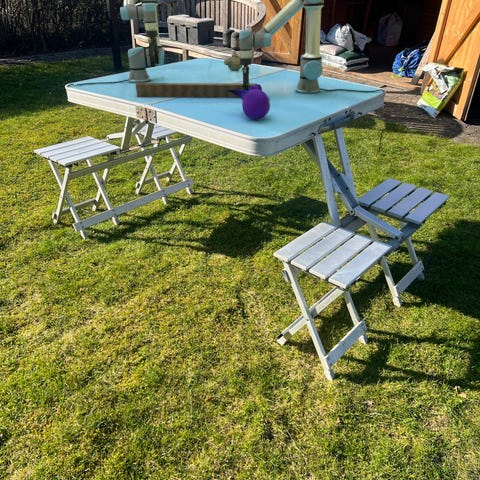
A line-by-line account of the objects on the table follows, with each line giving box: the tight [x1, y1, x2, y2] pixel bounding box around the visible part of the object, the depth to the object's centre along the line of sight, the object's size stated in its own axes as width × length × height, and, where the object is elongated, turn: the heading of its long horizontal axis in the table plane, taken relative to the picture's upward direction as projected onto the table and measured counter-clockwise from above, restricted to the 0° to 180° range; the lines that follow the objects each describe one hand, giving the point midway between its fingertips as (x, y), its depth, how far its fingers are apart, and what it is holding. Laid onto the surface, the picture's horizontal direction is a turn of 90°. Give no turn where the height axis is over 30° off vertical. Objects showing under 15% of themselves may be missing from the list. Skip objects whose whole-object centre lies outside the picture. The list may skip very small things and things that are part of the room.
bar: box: [135, 82, 258, 99], centre depth 290 cm, size 78×6×8 cm, turn 83°
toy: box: [228, 83, 271, 121], centre depth 243 cm, size 16×18×27 cm
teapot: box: [223, 50, 244, 72], centre depth 366 cm, size 21×12×15 cm, turn 120°
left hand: (155, 65), depth 297 cm, fingers open, 13 cm apart
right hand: (246, 96), depth 288 cm, fingers closed on bar, 6 cm apart
